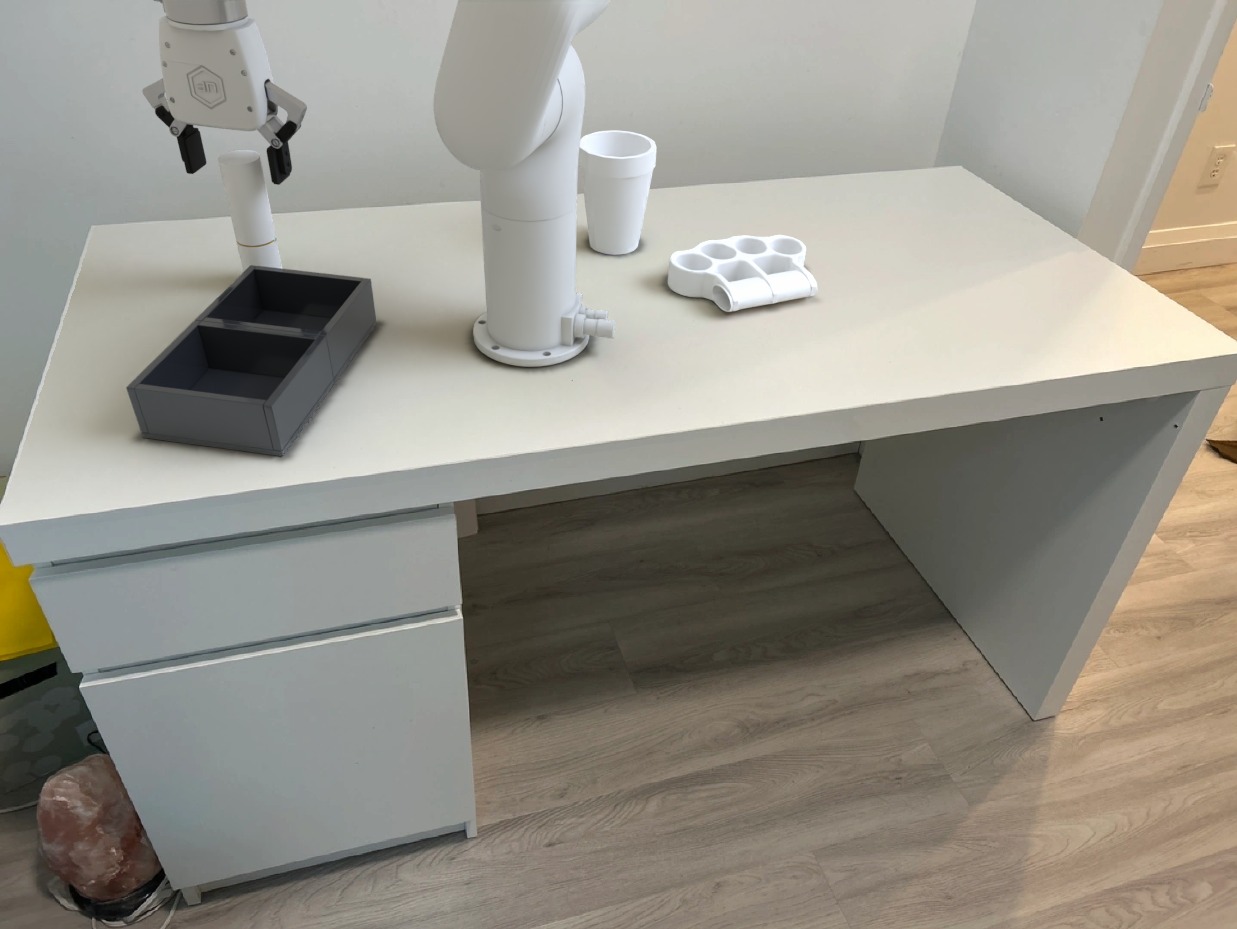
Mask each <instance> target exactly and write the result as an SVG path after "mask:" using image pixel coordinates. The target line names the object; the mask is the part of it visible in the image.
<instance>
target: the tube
mask: <svg viewBox="0 0 1237 929" xmlns="http://www.w3.org/2000/svg"><path fill="white" fill-rule="evenodd" d="M217 162H218V166H219V171H220V175H221V179H222V183H223V188H224V194H225V198H226V202H227V206H228V210H229V215H230V219H231V223H232V228H233V232H234V237H235V241H236V245H237V250H238V254H239V259H240V263H241V268H242V273H243V272H244V271H245V270H246V269H247V268H248V267H249V266H250V265H254V266H264V267H273V268H281V269H283V265H282V260H281V255H280V250H279V244H278V240H277V237H276V236H277V235H276V229H275V225H274V220H273V214H272V209H271V205H270V199H269V194H268V188H267V183H266V178H265V173H264V169H263V164H262V163H263V162H262V158H261V154H260V153H259V152H257V151H255V150H250V149H234V150H230V151H226V152H224V153H221V154H220V155H219V156H218V157H217Z"/></svg>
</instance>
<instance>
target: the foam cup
mask: <svg viewBox="0 0 1237 929" xmlns="http://www.w3.org/2000/svg"><path fill="white" fill-rule="evenodd" d="M656 144H657V143H656V141H655V140H654V139H652V138H651V137H649V136H647V135H645V134H641V133H638V132H635V131H627V130H616V129H614V130H613V129H612V130H600V131H599V130H598V131H595V132H592V133H591V132H590V133H588V134H585V135H583V137H581V138H580V147H579V158H578V166H579V167H580V172H581V181H582V189H583V198H584V207H585V215H586V225H587V232H588V240H589V246H590V248H592V250H594V251H595V252H598V253H601V254H604V255H613V256H619V255H627V254H630V253H632V252H634V251H636V249H637V248H638V247H639V242H640V239H641V234H642V229H643V225H644V218H645V214H646V209H647V205H648V204H647V203H648V198H649V193H650V188H651V183H652V178H653V173H654V168H656V164H657V148H658V147H657V145H656Z"/></svg>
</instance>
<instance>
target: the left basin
mask: <svg viewBox="0 0 1237 929" xmlns="http://www.w3.org/2000/svg"><path fill="white" fill-rule="evenodd" d="M334 385H335V384H334V380H333V374H332V369H331V363H330V357H329V351H328V346H327V340H326V336H318V335H312V334H304V333H296V332H287V331H279V330H271V329H263V328H254V327H246V326H238V325H230V324H221V323H213V322H205V321H202V322H201V321H195V320H193V321H192V322H191V323H190V324H189V325H188V326H187V327H186V328H185V329H184V330H183V331H182V332H181V333H179V334H178V336H176V338H175V339H173V341H171V343H170V344H169V345H167V347H166V348H164V350H162V351H161V352H160V353H159V354H158V355H157V356H156V357H155V358H154V359H153V360H152V361H151V362H150V363H149V364H148V365H147V366H146V367H145V368H144V369H143V370H142V371H141V372H140V373H139V374H138V375H137V376H136V377H135V378H134V379H133V380H132V381H130V383H129V384H127V386H126V387H125V389H126V392H127V395H128V397H129V400H130V403H131V406H132V409H133V413H134V415H135V418H136V421H137V424H138V427H139V430H140V432H141V433H140V434H141V436H142V438H144V439H150V440H151V439H152V440H159V441H166V442H172V443H173V442H174V443H181V444H189V445H196V446H204V447H212V448H217V449H218V448H219V449H226V450H232V451H239V452H240V451H241V452H247V453H254V454H262V455H268V456H269V455H270V456H278V457H283V456H284V455H285V454H286V453H287V451H288V450H289V449H290V447H291V446H292V444H293V443H294V441H295V440H296V439H297V437H298V435H299V434H300V432H301V431H302V430H303V429H304V427H305V426H306V425H307V423H308V422H309V420H310V419H311V417H312V416H313V415H314V413H315V412H316V410H317V409H318V408H319V406H320V405H321V404H322V402H323V401H324V399H325V398H326V396H328V394H329V392H331V389H332V388H333V386H334Z"/></svg>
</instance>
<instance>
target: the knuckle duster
mask: <svg viewBox="0 0 1237 929" xmlns="http://www.w3.org/2000/svg"><path fill="white" fill-rule="evenodd" d="M806 254H807V246H806V245H805V243H804V242H803V241H802V240H800V239H798V238H796V237H793V236H790V235H785V234H774V235H769V236H755V235H750V234H749V235H748V234H746V235H743V234H742V235H732V236H730V237H727V238H723V239H708V240H704V241H702V242H699V243H698V244H697V245H696V246H694V247H692V248H690V249H685V250H676V251H674V252H673V253H671V255H670V257H669V261H668V270H667V271H668V272H667V285H668V287H669V289H670V290H671V291H672V292H675V293H676V294H678V295H681V296H684V297H688V298H704V299H706V300H710V301H713V302H714V303H715V304H716V306H718V308H719V309H720V310H722V311H723V312H727V313H730V312H731V313H732V312H736V311H739V310H744V309H750V308H755V307H760V306H765V305H773V304H776V303H780V302H787V301H792V300H797V299H803V298H808V297H814V296H816V295H817V293H818V288H819V287H818V282H817V281H816V278H815V277H814V275H813V274H812V273H811V272H810V271H809V270H808V269H807V268H806V267H805V266H804V265H805V260H806Z"/></svg>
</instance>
